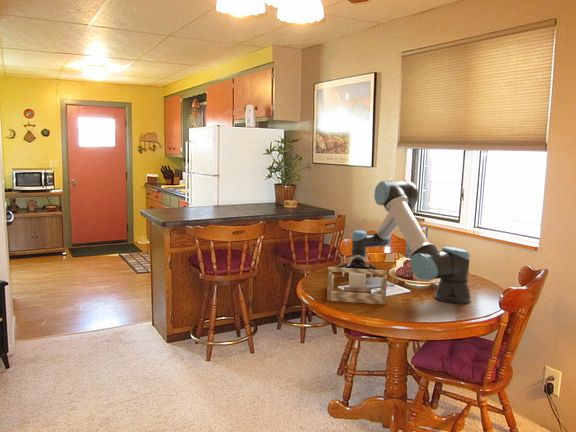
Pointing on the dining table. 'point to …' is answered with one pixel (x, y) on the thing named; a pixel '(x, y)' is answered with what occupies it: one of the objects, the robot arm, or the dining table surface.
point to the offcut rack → (356, 296)
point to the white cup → (357, 280)
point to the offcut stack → (356, 290)
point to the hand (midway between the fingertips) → (357, 274)
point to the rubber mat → (375, 283)
